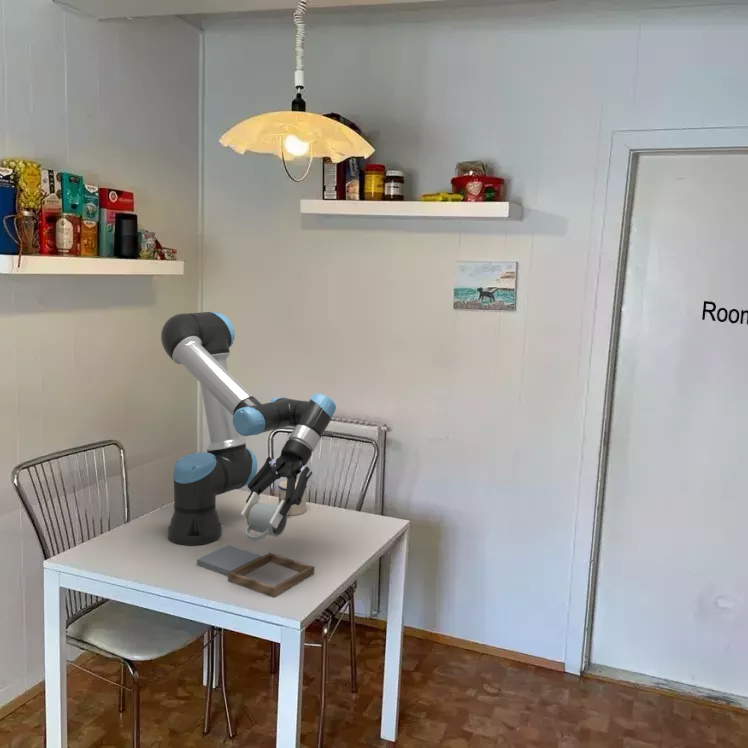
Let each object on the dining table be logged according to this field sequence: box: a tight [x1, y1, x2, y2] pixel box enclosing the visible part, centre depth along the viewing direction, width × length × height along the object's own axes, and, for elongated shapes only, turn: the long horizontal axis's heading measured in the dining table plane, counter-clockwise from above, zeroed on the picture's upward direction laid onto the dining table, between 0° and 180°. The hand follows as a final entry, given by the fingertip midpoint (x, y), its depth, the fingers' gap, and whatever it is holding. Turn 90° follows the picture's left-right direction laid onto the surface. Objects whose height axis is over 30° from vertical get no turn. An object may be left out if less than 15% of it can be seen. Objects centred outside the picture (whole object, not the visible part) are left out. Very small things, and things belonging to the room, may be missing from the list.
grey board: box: [196, 544, 263, 577], centre depth 193 cm, size 12×12×2 cm
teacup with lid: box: [278, 478, 308, 516], centre depth 231 cm, size 12×9×12 cm
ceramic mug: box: [245, 502, 288, 542], centre depth 183 cm, size 11×8×8 cm
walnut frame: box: [227, 552, 315, 598], centre depth 185 cm, size 15×16×2 cm
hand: (258, 521), depth 181 cm, fingers closed on ceramic mug, 8 cm apart
